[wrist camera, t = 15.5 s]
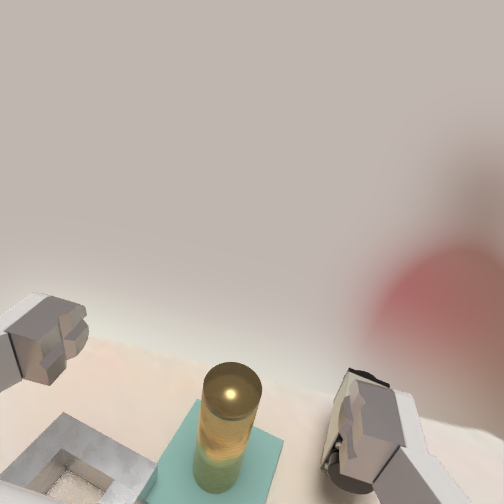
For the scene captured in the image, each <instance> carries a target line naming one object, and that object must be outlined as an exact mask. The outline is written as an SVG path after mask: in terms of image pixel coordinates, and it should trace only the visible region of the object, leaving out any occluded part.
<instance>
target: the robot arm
mask: <svg viewBox="0 0 504 504" xmlns="http://www.w3.org/2000/svg"><path fill="white" fill-rule="evenodd" d="M86 315H87V314H86V309H85V306H83V305H80V304H77V303H74V302H70V301H67V300H64V299H60V298H57V297H54V296H49V295H46V294H43V293H39V292H34V293H31V294H29V295H28V296H26V297H25V298H24V299H22V300H21V301H20V302H18V303H17V304H15V305H14V306H13V307H11V308H10V309H9V310H7V311H6V312H4V313H3V314H2V315H0V392H2V391H3V390H5V389H7V388H9V387H11V386H13V385H14V384H16V383H18V382H20V381H22V379H25V380H29V381H33V382H37V383H40V384H44V385H48V386H50V385H51V384H52V383H53V382H54V381H55V380H56V379H57V378H58V376H59V375H60V374H61V373H62V372H63V371H64V370H65V369H66V365H67V360H69V359H71V358H73V357H75V356H77V355H78V354H79V353H80V351H81V350H82V349H83V348H84V346H85V343H86V341H87V339H88V334H89V330H88V325H87V324H86V323H85V321H84V320H83V318H84V317H85V316H86ZM349 391H350V395H349V396H346V397H344V399H343V402H342V404H341V407H340V412H339V419H338V432H339V433H340V435H341V437H342V438H343V441H342V443H341V445H340V447H339V459H340V474H343V475H346V476H349V477H352V478H355V479H358V480H361V481H364V482H367V483H370V484H373V485H372V487H373V489H374V491H375V493H376V495H377V497H378V499H379V501H380V503H381V504H473V503H472V501H471V500H470V499H469V498H468V496H467V495H466V494H465V493H464V491H463V490H462V489H461V488H460V487H459V485H458V484H457V483H456V482H455V480H454V479H453V478H452V477H451V475H450V474H449V473H448V472H447V470H446V469H445V468H444V467H443V465H442V464H441V463H440V462H439V460H438V459H437V458H436V457H435V456H433V455H429V452H428V448H427V445H426V441H425V437H424V434H423V430H422V427H421V423H420V420H419V416H418V412H417V409H416V405H415V402H414V398H413V397H412V395H411V394H409V393H405V392H402V391H398V390H394V389H390V388H387V387H383V386H380V385H376V384H372V383H368V382H364V381H360V380H357V379H355V380H353V381H352V383H351V385H350V387H349ZM0 504H70V503H67V502H64V501H61V500H58V499H55V498H52V497H49V496H47V495H44V494H41V493H38V492H35V491H32V490H29V489H26V488H23V487H20V486H17V485H14V484H11V483H8V482H5V481H2V480H0Z"/></svg>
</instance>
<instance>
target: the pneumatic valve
mask: <svg viewBox="0 0 504 504" xmlns="http://www.w3.org/2000/svg"><path fill="white" fill-rule="evenodd" d="M355 379H357V380H360V381H364V382H368V383H372V384H376V385H380V386H383V387H387V388H390V385H389V384H388V383H385V382H383V381H381V380H378V379H376V378H375V377H374V376H373V375H371V374H370V373H368V372H365V371H360V370H354V369H351V368H349V369H348V371H347V373H346V375H345V376H344V378H343V382H342V384H341V386H340V388H339V390H338V392H337V394H336V397H335V399H334V402H333V408H332V413H331V418H330V423H329V428H328V434H327V439H326V441H325V445H324V451H323V456H322V461H321V469H322V471H324V472H327V475H328V477H329V478H330V479H331V480H332V481H333V482H334V483H335V484H336V485H337V486H339V487H340V488H342V489H344V490H346V491H348V492H351V493H355V494H368V493H371V492H372V491H373V490H374V489H373V487H372V485H373V484H370V483H367V482H364V481H361V480H358V479H355V478H352V477H349V476H346V475H343V474H340V459H339V447H340V445H341V443H342V441H343V438H342V437H341V435H340V433H339V432H338V419H339V412H340V407H341V404H342V402H343V399H344V397H346V396H349V395H350V391H349V387H350V385H351V383H352V381H353V380H355Z"/></svg>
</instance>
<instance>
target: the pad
mask: <svg viewBox="0 0 504 504" xmlns="http://www.w3.org/2000/svg"><path fill="white" fill-rule="evenodd" d="M200 407H201V401H200V400H198V399H197V400H196V402H195V403H194V405H193V407H192V408H191V410H190V411H189V413H188V415H187V416H186V418H185V419H184V421H183V423H182V424H181V426H180V427H179V429H178V431H177V432H176V434H175V435H174V437H173V439H172V440H171V442H170V443H169V445H168V447H167V448H166V450H165V451H164V453H163V455H162V456H161V458H160V459H159V461H158V463H157V464H158V475H157V482H156V483H155V485H154V487H153V489H152V490H151V492H150V494H149V495H148V497H147V499H146V500H145V504H264V503H265V500H266V497H267V494H268V490H269V487H270V484H271V481H272V477H273V474H274V471H275V468H276V464H277V461H278V458H279V455H280V451H281V448H282V445H283V442H284V441H283V440H281V439H279V438H277V437H275V436H273V435H271V434H268V433H266V432H264V431H262V430H260V429H258V428H256V427H254V426H253V427H252V430H251V434H250V437H249V441H248V444H247V448H246V451H245V455H244V459H243V462H242V466H241V469H240V473H239V476H238V479H237V481H236V483H235V484H234V485H233V487H232V488H230V489H229V490H228V491H226V492H224V493H220V494H211V493H208V492H206V491H204V490H203V489H201V488H200V487H199V486H198V484H197V483H196V481H195V479H194V476H193V460H194V453H195V445H196V438H197V430H198V422H199V415H200Z"/></svg>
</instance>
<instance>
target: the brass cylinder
mask: <svg viewBox="0 0 504 504" xmlns="http://www.w3.org/2000/svg"><path fill="white" fill-rule="evenodd" d="M261 394H262V385H261V382H260V379H259V377H258V376H257V374H256V373H255V372H254V371H253V370H251V369H250V368H249V367H247V366H245V365H243V364H240V363H236V362H226V363H222V364H219V365H217V366H215V367H213V368H212V369H211V370H210V371H209V372H208V373H207V375H206V377H205V379H204V384H203V392H202V399H201V407H200V415H199V422H198V430H197V438H196V445H195V453H194V460H193V476H194V479H195V481H196V483H197V484H198V486H199V487H200V488H201V489H203V490H204V491H206V492H208V493H211V494H220V493H224V492H226V491H228V490H229V489H230V488H232V487H233V485H234V484H235V483H236V481H237V479H238V476H239V473H240V469H241V466H242V462H243V459H244V455H245V451H246V448H247V444H248V441H249V437H250V434H251V430H252V427H253V423H254V419H255V416H256V412H257V409H258V405H259V402H260V398H261Z"/></svg>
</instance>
